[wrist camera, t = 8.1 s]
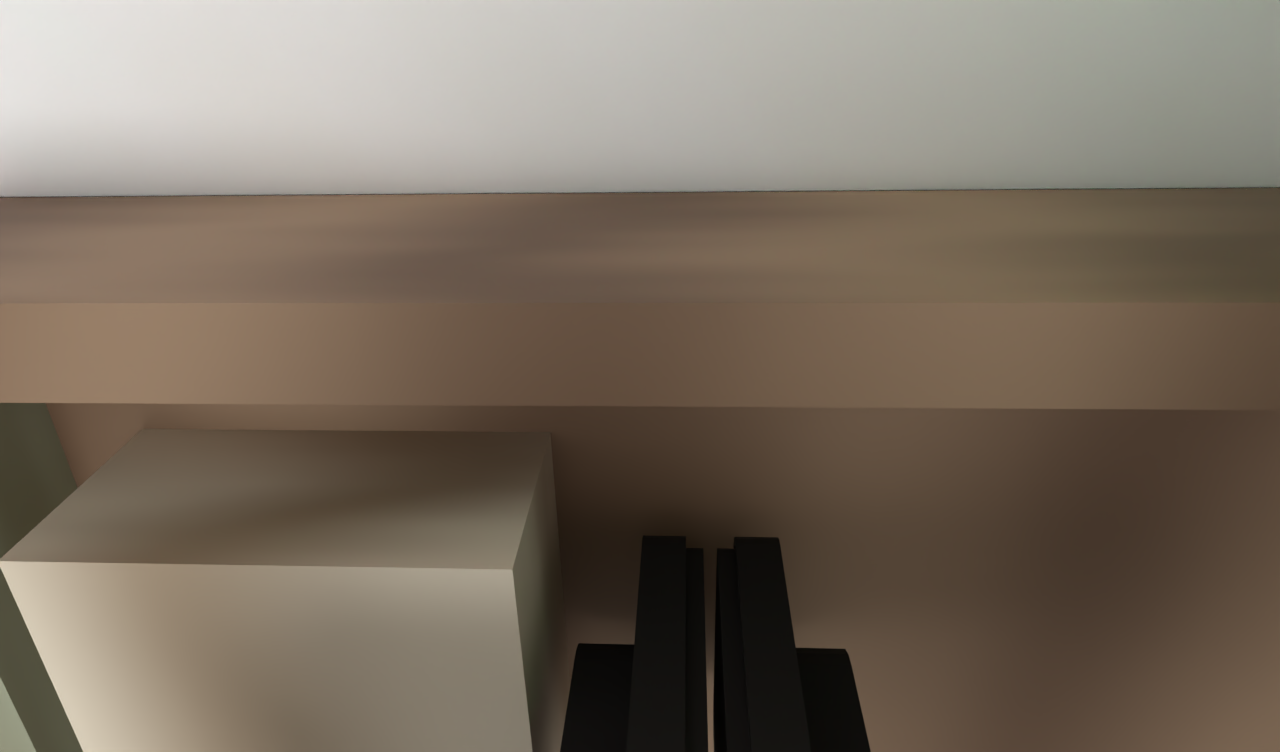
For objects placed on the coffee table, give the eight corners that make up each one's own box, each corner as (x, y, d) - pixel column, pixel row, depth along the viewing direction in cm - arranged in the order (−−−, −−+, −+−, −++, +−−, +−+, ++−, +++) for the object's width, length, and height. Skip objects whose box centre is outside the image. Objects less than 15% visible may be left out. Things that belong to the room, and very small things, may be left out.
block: (549, 431, 10) (512, 568, 8) (573, 729, 13) (549, 901, 10) (142, 428, 11) (-3, 560, 8) (237, 720, 13) (143, 886, 11)
